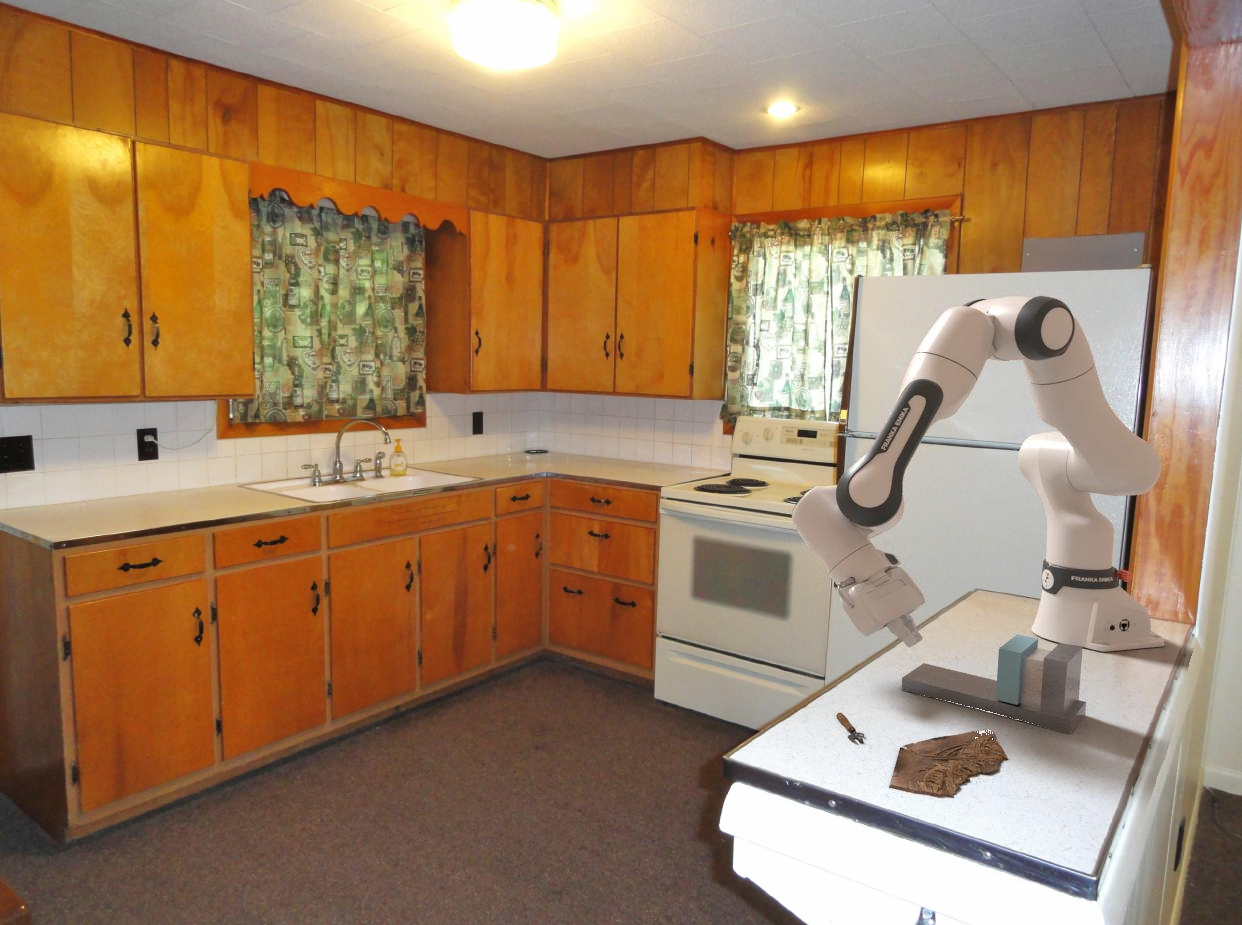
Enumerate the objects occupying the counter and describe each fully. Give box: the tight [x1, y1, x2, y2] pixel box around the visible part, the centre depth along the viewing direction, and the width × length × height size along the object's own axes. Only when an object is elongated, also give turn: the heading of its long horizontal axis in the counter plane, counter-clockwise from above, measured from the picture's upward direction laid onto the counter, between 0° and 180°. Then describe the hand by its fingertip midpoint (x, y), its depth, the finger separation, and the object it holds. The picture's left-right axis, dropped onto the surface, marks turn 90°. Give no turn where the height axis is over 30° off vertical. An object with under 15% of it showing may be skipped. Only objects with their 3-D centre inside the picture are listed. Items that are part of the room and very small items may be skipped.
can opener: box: [835, 712, 865, 746], centre depth 116 cm, size 9×2×1 cm, turn 179°
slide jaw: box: [996, 633, 1039, 705], centre depth 124 cm, size 3×9×8 cm, turn 139°
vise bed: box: [901, 643, 1087, 735], centre depth 126 cm, size 24×9×10 cm, turn 49°
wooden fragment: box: [888, 728, 1009, 798], centre depth 108 cm, size 26×11×1 cm, turn 129°
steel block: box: [1020, 647, 1052, 709], centre depth 122 cm, size 3×6×7 cm, turn 139°
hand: (916, 643), depth 134 cm, fingers closed
